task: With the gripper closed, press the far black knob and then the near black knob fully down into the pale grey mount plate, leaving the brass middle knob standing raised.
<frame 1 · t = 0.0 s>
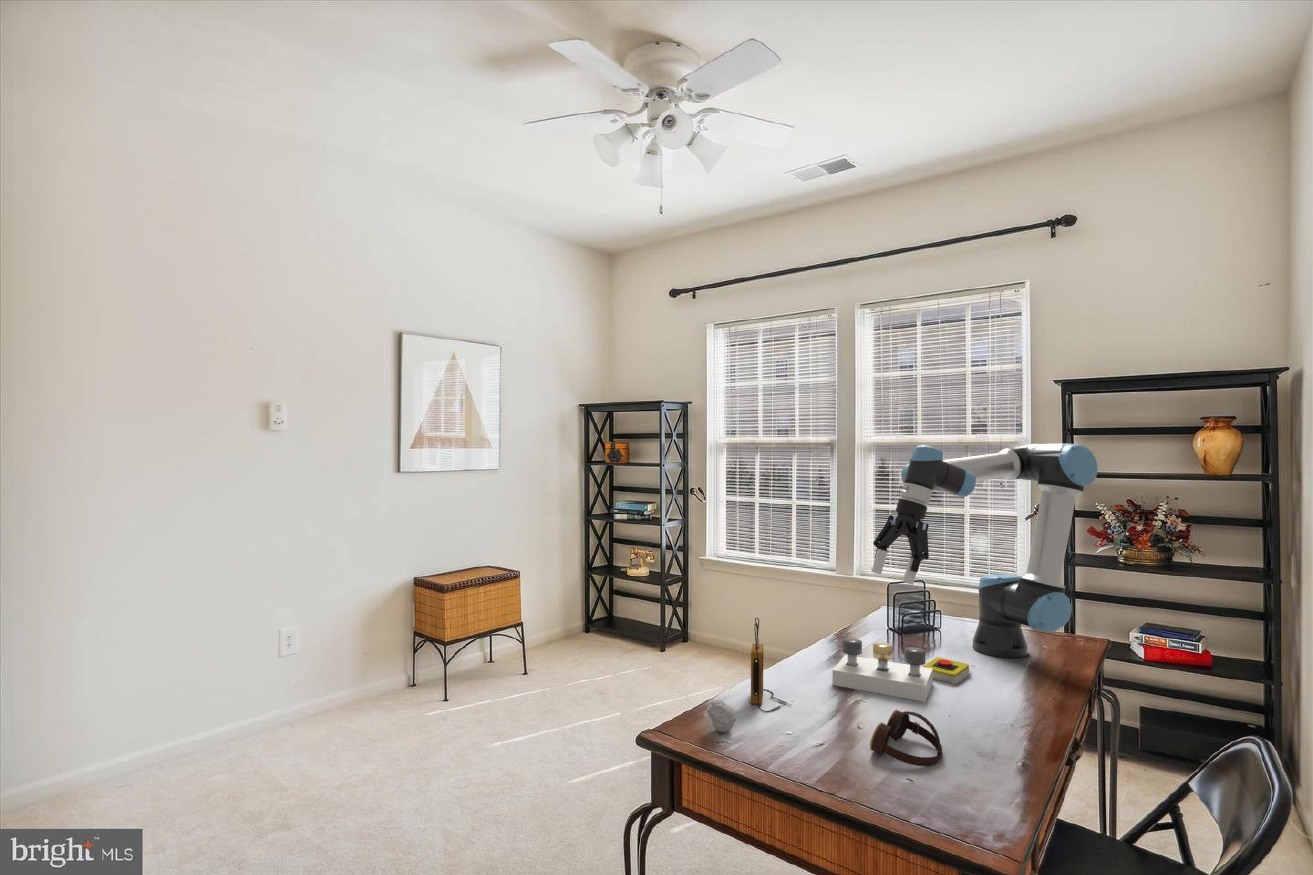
hand: (891, 578, 182), 28 cm above the table, tool tilted 20°, fingers open, 13 cm apart
crumpled paper ball: (721, 732, 152), on the table
goggles: (908, 754, 143), on the table
knob near: (914, 663, 177), point 7 cm above the table, slide at 3.0 cm
knob middle: (882, 658, 181), point 7 cm above the table, slide at 3.0 cm
multimeter: (771, 701, 170), on the table
knob far: (852, 653, 185), point 7 cm above the table, slide at 3.0 cm
emergency button: (946, 677, 188), on the table
mount plate: (882, 684, 181), on the table
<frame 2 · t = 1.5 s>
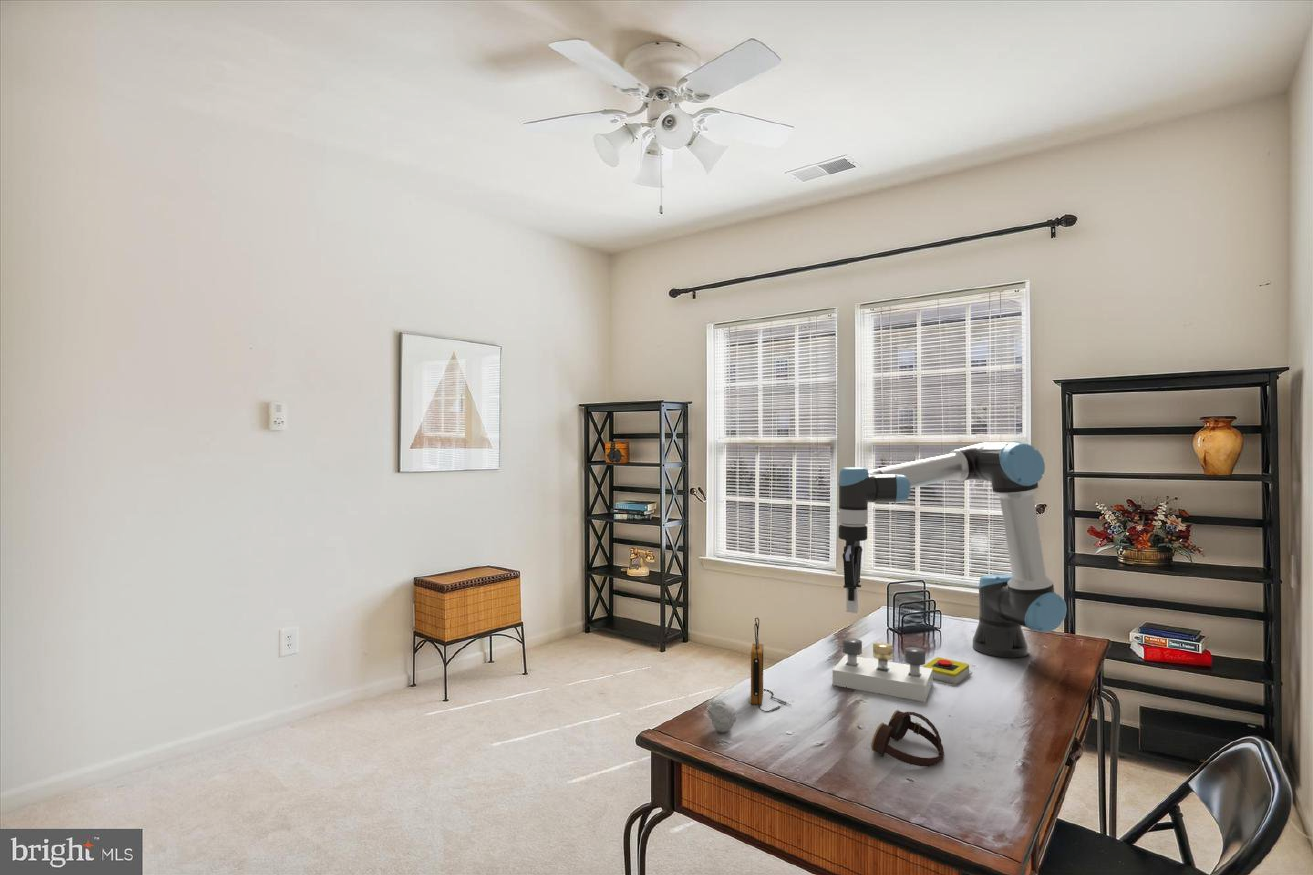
hand: (852, 611, 185), 18 cm above the table, tool pointing down, fingers closed
nothing on the table moved.
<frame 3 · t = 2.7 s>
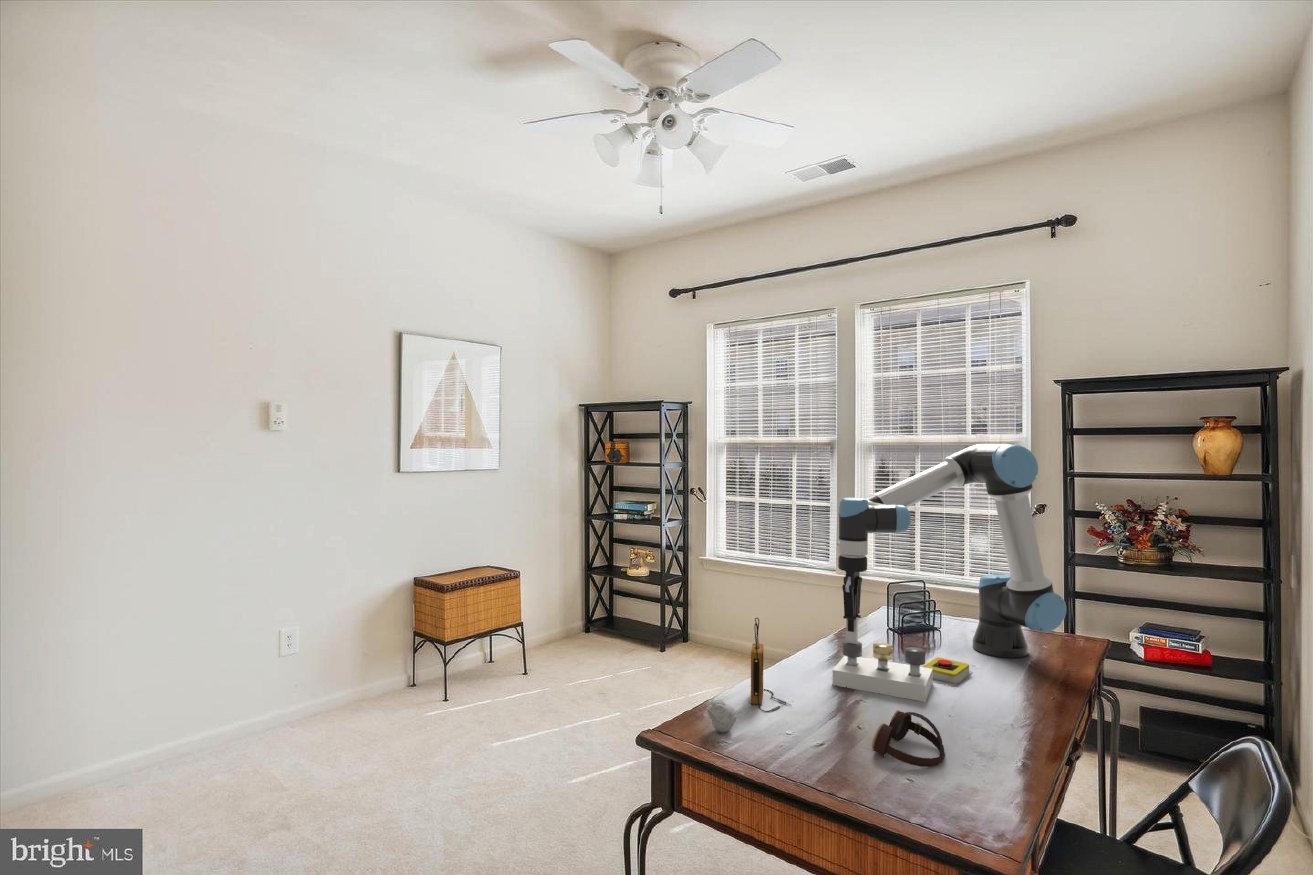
hand: (851, 642, 185), 10 cm above the table, tool pointing down, fingers closed
knob far: (852, 656, 185), point 6 cm above the table, slide at 2.4 cm, touching gripper
everything else where it was.
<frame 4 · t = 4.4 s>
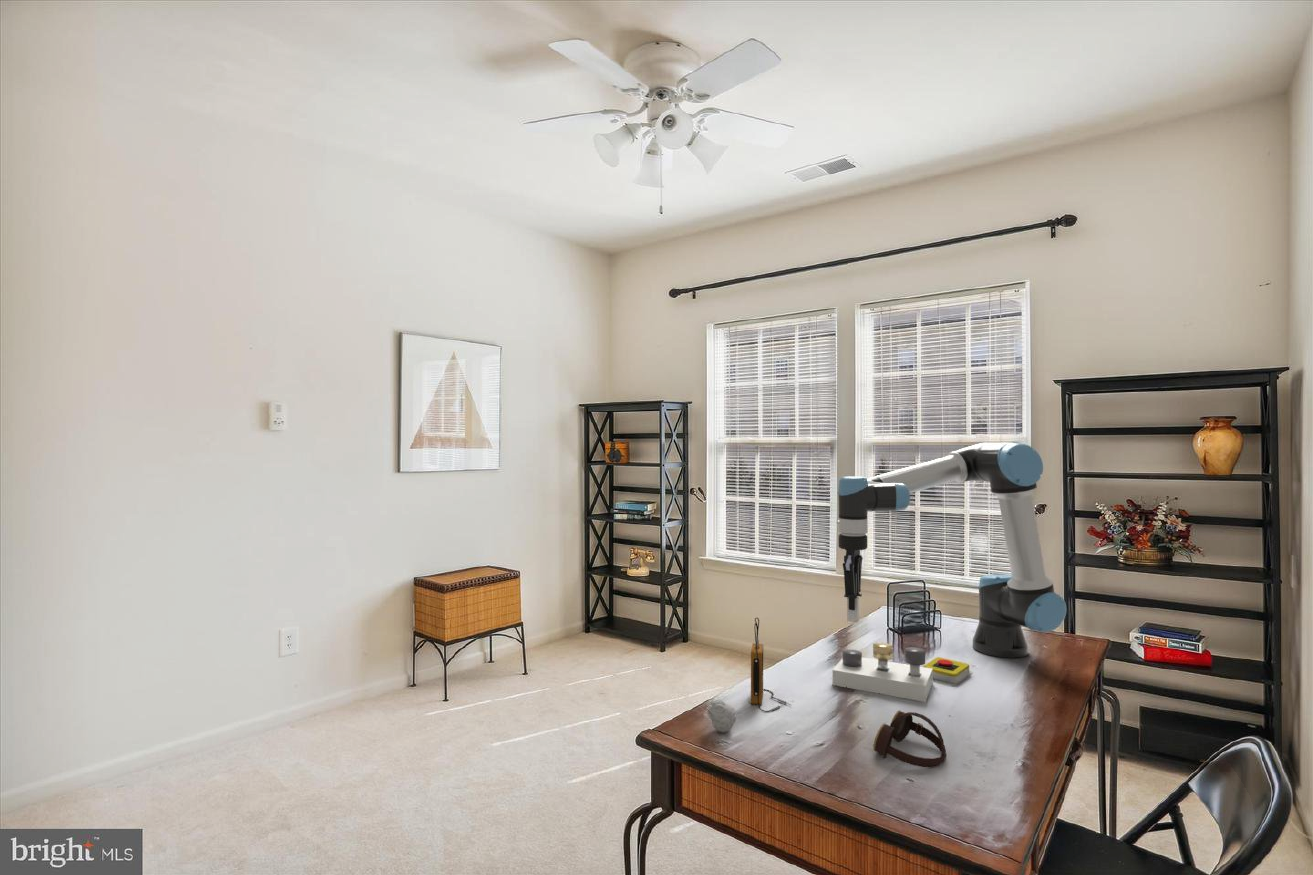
hand: (853, 620, 185), 16 cm above the table, tool pointing down, fingers closed
knob far: (852, 665, 185), point 4 cm above the table, slide at -0.1 cm
everything else where it was.
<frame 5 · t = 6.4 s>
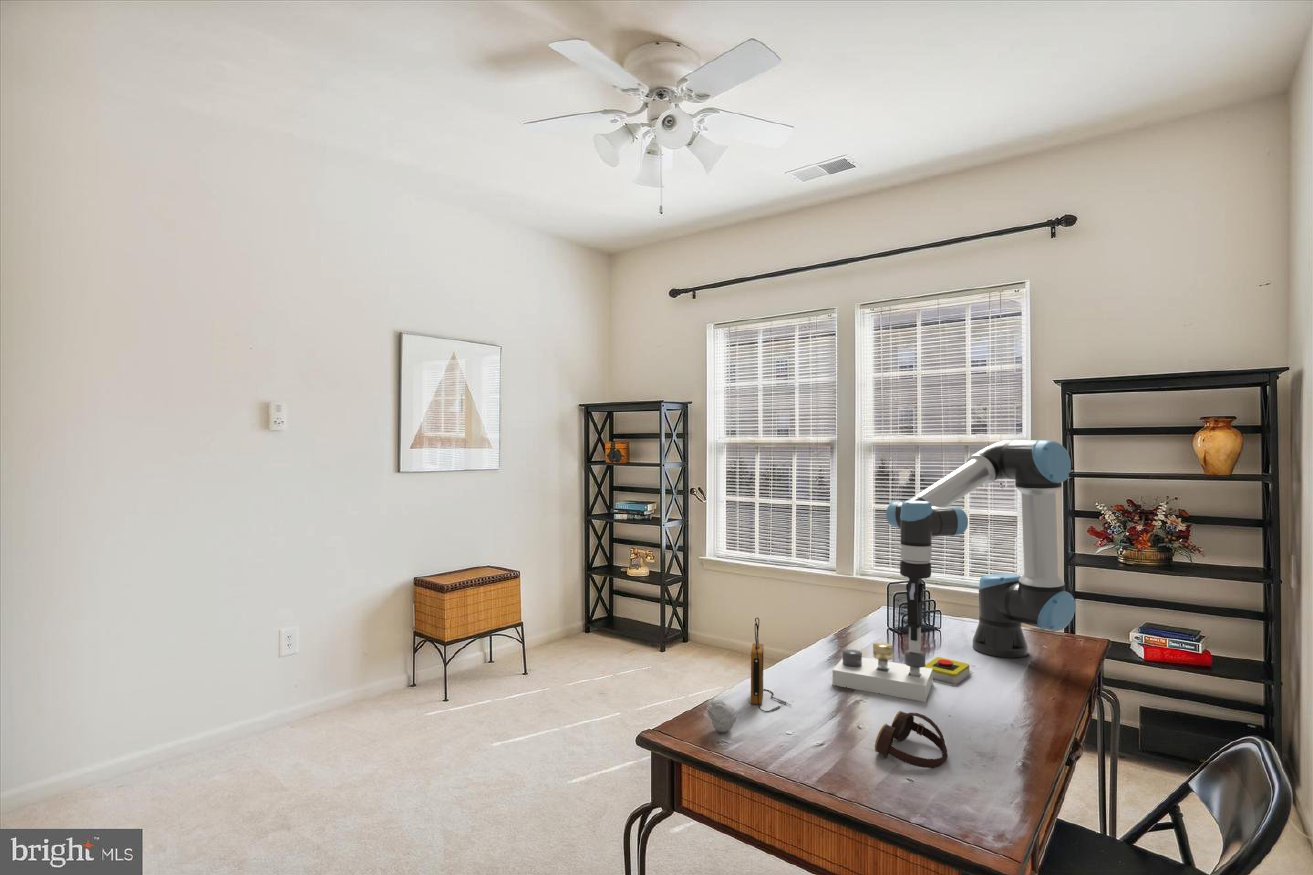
hand: (914, 651, 177), 10 cm above the table, tool pointing down, fingers closed
knob near: (914, 666, 177), point 6 cm above the table, slide at 2.4 cm, touching gripper
everything else where it was.
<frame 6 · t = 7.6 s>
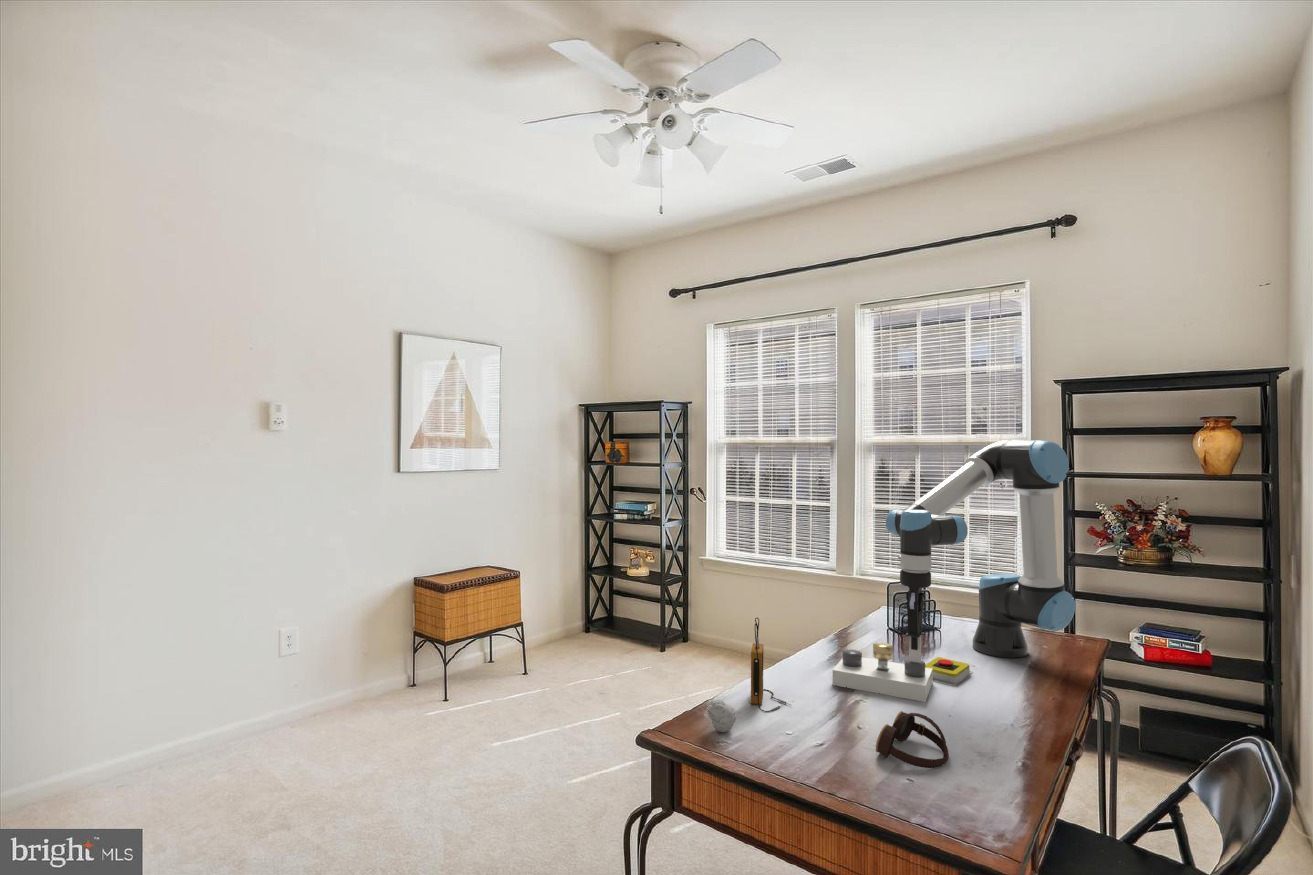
hand: (914, 660, 177), 8 cm above the table, tool pointing down, fingers closed
knob near: (914, 675, 177), point 4 cm above the table, slide at -0.1 cm
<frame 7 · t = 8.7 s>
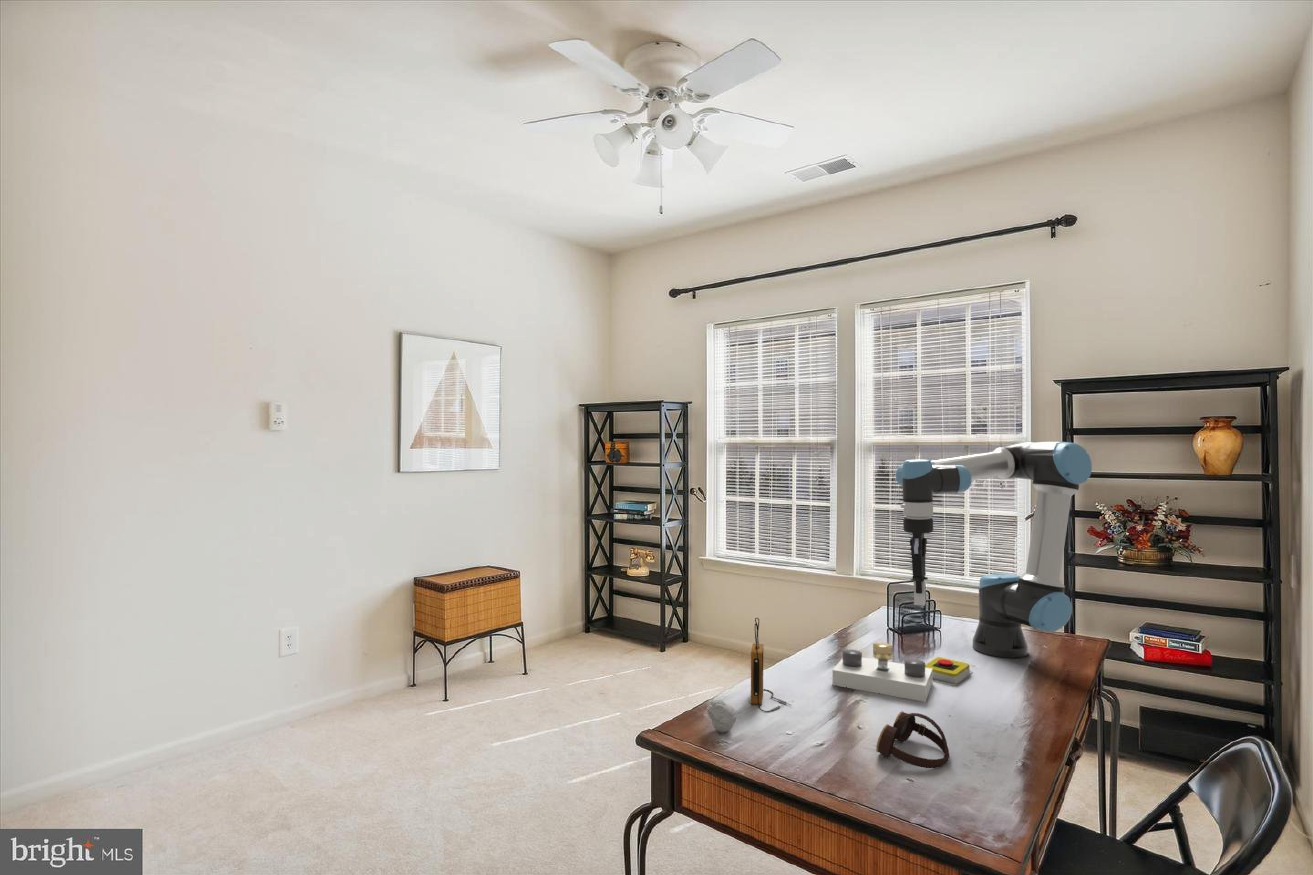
hand: (919, 604, 184), 20 cm above the table, tool pointing down, fingers closed
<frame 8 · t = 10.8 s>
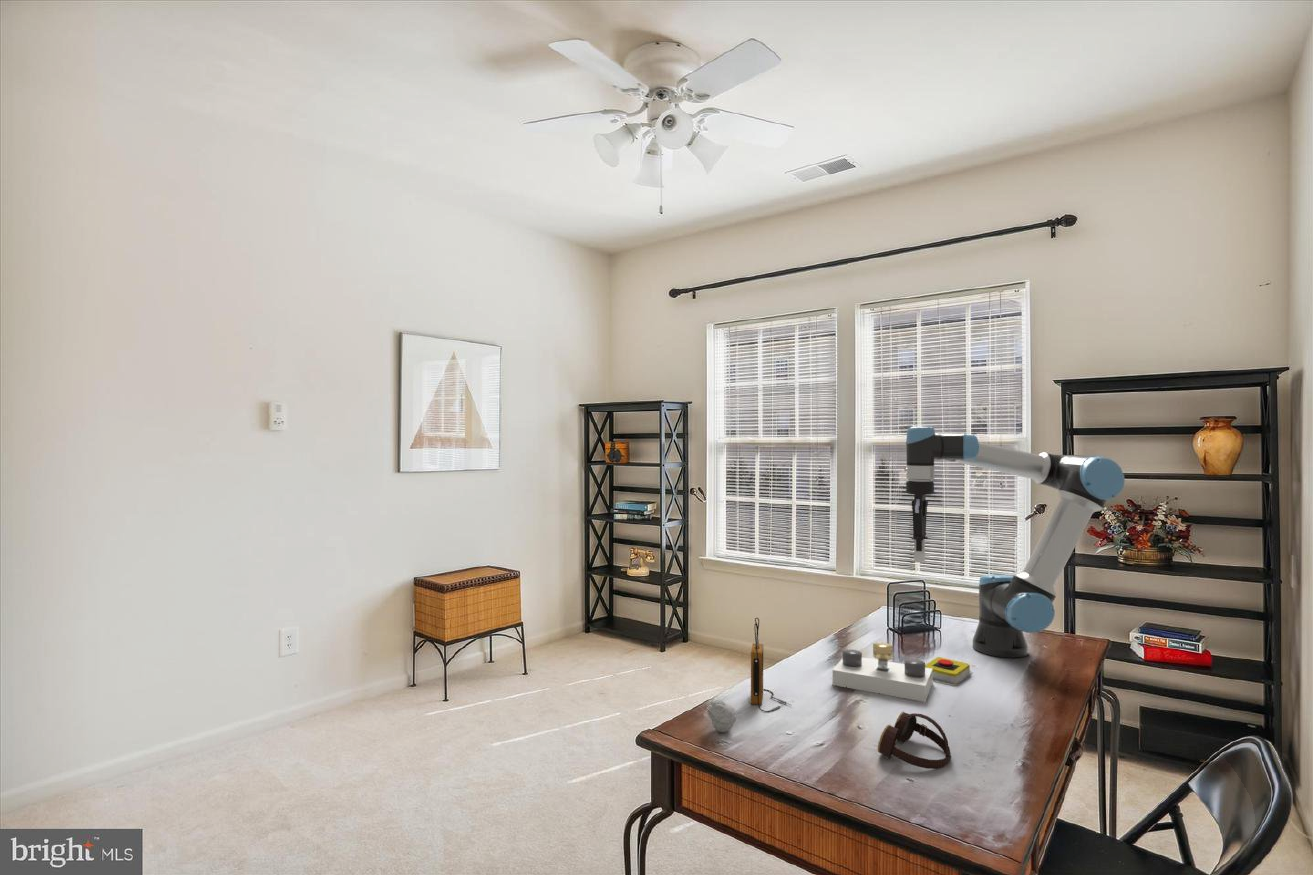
hand: (919, 561, 197), 29 cm above the table, tool pointing down, fingers closed
at the end: knob far slide at -0.1 cm; knob near slide at -0.1 cm; knob middle slide at 3.0 cm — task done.
